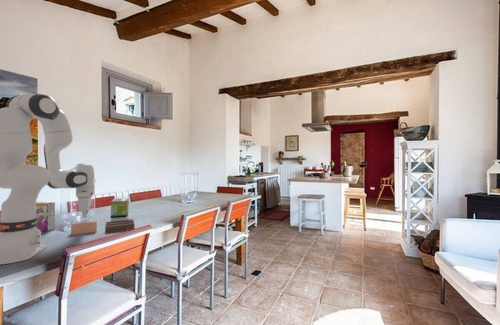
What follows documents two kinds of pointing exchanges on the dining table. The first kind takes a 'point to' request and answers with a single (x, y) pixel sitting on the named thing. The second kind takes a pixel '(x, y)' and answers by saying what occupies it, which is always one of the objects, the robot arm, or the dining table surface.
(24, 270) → the dining table surface
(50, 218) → the candy bar box
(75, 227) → the tile strip
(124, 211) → the tea box
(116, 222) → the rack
